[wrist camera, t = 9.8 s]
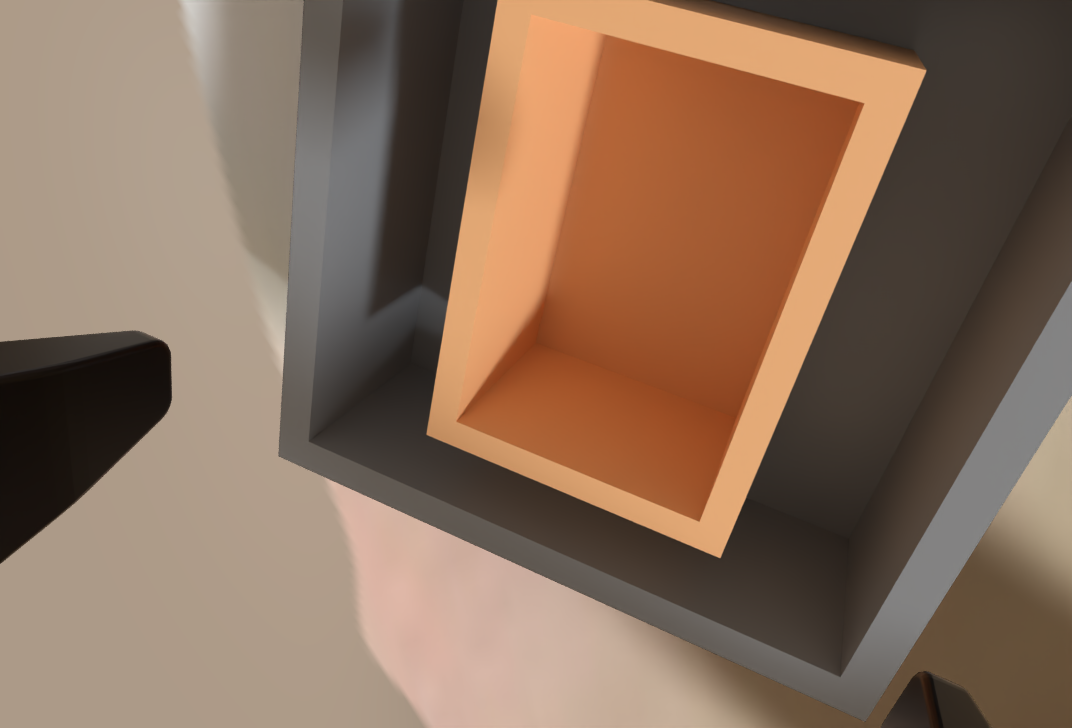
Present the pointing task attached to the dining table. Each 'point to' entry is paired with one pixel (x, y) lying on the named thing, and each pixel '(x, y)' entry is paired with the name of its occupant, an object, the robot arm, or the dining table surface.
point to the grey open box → (821, 385)
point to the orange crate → (655, 244)
